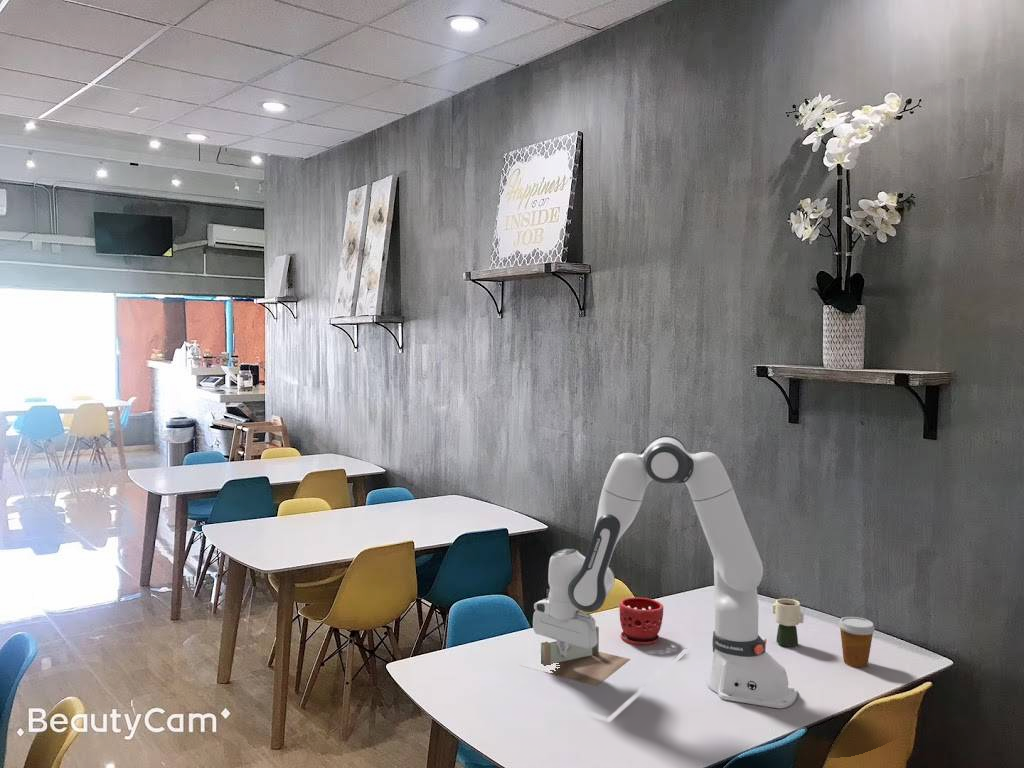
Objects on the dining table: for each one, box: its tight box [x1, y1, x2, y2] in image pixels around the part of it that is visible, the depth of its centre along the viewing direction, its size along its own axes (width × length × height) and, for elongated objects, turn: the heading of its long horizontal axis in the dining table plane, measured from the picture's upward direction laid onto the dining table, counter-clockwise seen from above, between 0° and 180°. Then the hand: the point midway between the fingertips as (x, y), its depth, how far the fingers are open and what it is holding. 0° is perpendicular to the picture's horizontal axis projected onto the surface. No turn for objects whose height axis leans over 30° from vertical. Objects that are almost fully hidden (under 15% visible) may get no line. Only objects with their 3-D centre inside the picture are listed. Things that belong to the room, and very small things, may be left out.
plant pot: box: [619, 597, 664, 647], centre depth 244 cm, size 13×13×12 cm
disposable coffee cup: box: [838, 616, 876, 669], centre depth 228 cm, size 10×10×12 cm
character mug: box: [772, 598, 805, 647], centre depth 242 cm, size 11×7×13 cm, turn 34°
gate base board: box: [545, 625, 631, 687], centre depth 226 cm, size 24×21×9 cm
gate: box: [540, 640, 592, 666], centre depth 227 cm, size 2×16×6 cm, turn 118°
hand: (564, 656), depth 224 cm, fingers closed
